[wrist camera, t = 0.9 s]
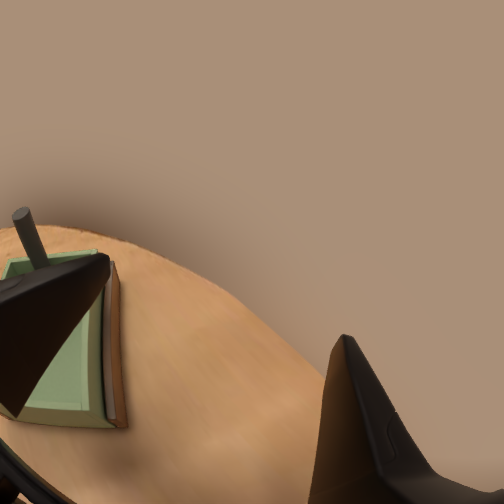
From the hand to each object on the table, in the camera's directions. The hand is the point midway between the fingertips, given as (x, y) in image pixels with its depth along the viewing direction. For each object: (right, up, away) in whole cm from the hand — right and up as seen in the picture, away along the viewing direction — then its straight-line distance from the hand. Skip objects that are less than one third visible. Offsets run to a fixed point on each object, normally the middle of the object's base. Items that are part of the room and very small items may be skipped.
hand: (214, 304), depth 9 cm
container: (-17, -8, +11) cm, 22 cm away
